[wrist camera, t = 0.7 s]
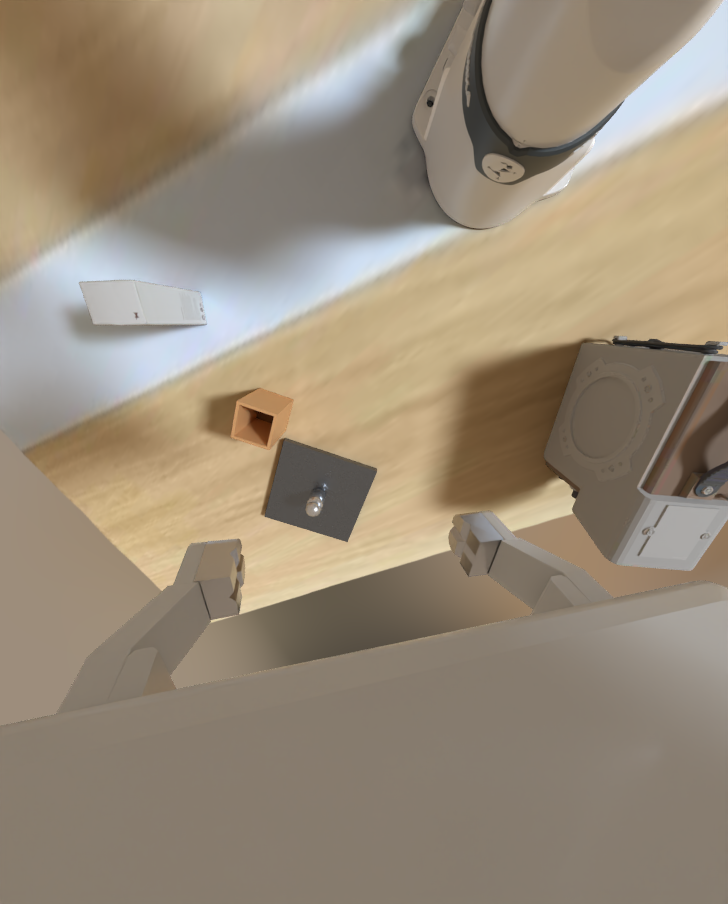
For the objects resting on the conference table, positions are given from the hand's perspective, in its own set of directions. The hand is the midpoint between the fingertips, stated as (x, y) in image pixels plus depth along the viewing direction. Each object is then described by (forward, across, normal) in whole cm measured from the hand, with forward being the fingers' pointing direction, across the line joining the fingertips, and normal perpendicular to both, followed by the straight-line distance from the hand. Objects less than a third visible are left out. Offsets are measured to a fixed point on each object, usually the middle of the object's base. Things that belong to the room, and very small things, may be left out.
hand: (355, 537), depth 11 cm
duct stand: (+35, -2, +23) cm, 42 cm away
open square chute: (+38, +5, +9) cm, 39 cm away
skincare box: (+42, +16, -5) cm, 45 cm away
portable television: (+25, -42, +7) cm, 50 cm away
